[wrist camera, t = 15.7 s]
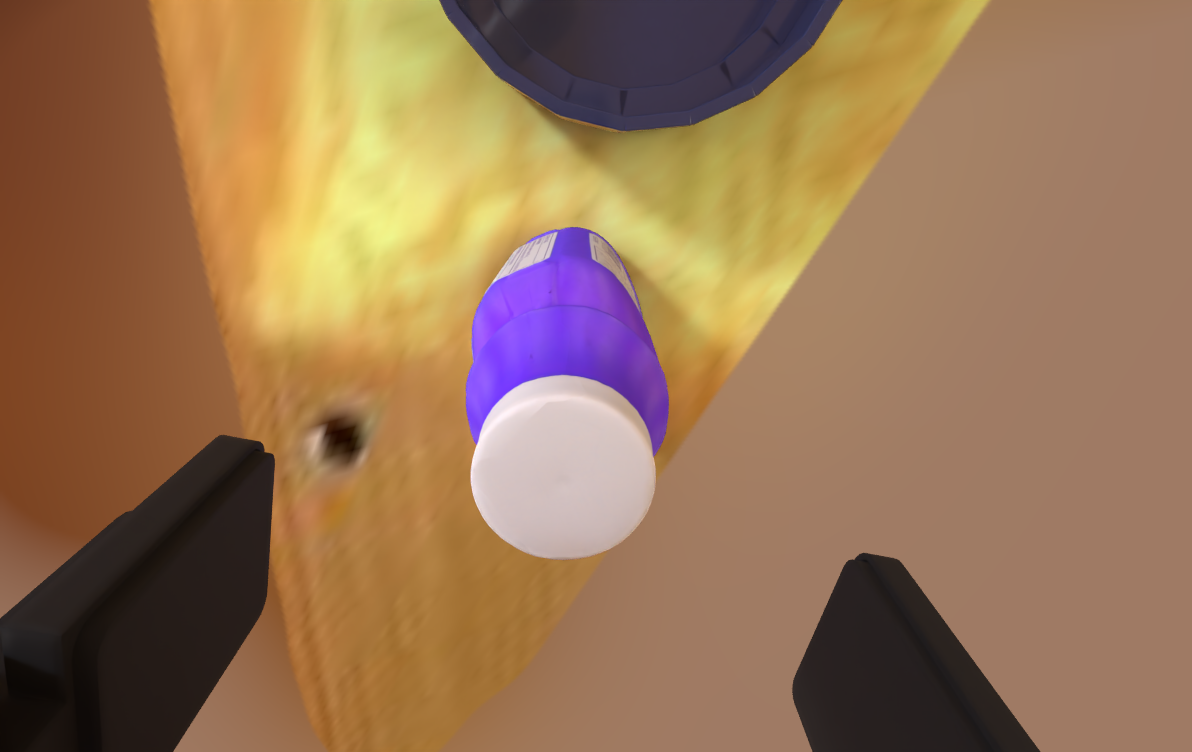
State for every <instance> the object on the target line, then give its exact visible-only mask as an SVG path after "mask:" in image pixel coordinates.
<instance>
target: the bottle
mask: <svg viewBox="0 0 1192 752" xmlns="http://www.w3.org/2000/svg"><path fill="white" fill-rule="evenodd" d="M472 354H473V365H472V367H471V369H470V372H469V375H468V378H467V383H466V409H467V416H468V421H469V425H470V430H471V433H472V436H473V439H474V442H475V443H476V445H477V446H476V449H475V453H474V456H473V460H472V467H471V485H472V492H473V495H474V499H475V502H476V504H477V507H478V509H479V511H480V513H481V515H482V517H483V518H484V520H485V521H486V522H487V524H488V525H489V526H490V527H491V528H492V529H493V530H494V531H495V533H496V534H497V535H499V536H500V537H501V538H502V539H503V540H505V541H506V542H508V543H509V544H511V545H512V546H514V547H516V548H517V549H519V550H521V551H523V552H525V553H528V554H531V555H534V556H537V557H542V558H548V559H556V560H570V559H581V558H585V557H590V556H594V555H596V554H599V553H602V552H604V551H607V550H609V549H610V548H612V547H614V546H616V545H617V544H619V543H620V542H622V541H623V540H624V539H625V538H627V537H628V536H629V535H630V534H631V533H632V532H633V531H634V530H635V529H636V528H637V526H638V525H639V524H640V523H641V521H642V520H643V518H644V516H645V515H646V513H647V511H648V509H649V507H650V504H651V502H652V498H653V495H654V491H655V479H656V471H655V463H654V456H655V454H656V453H657V451H658V449H659V447H660V446H661V444H662V442H663V439H664V436H665V433H666V427H667V420H668V408H669V399H668V391H667V384H666V380H665V375H664V373H663V371H662V368H661V366H660V364H659V361H658V358H657V355H656V352H655V348H654V346H653V343H652V340H651V336H650V334H649V332H648V329H647V327H646V325H645V322H644V320H643V317H642V312H641V308H640V304H639V301H638V298H637V295H636V292H635V289H634V286H633V284H632V281H631V279H630V276H629V274H628V272H627V270H626V268H625V266H624V265H623V263H622V261H621V259H620V257H619V256H618V254H617V253H616V251H615V250H614V249H613V247H612V246H611V245H610V244H609V243H608V242H607V241H606V240H605V239H604V238H603V237H601V236H600V235H598V234H597V233H595V232H593V231H590V230H587V229H583V228H578V227H570V228H565V229H562V230H552V231H549V232H546V233H544V234H541V235H539V236H537V237H534V238H532V239H531V240H530V241H529V242H527V243H526V244H525V245H523V246H521V247H519V248H517V249H516V250H515V251H514V252H513V254H512V255H511V256H510V258H509V259H508V260H507V262H506V263H505V265H504V266H503V268H502V269H501V270H500V272H499V273H498V275H497V276H496V278H495V279H494V281H493V282H492V284H491V285H490V286H489V288H488V289H487V291H486V293H485V295H484V296H483V298H482V300H481V302H480V304H479V306H478V308H477V311H476V314H475V317H474V320H473V327H472Z"/></svg>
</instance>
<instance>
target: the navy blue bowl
mask: <svg viewBox="0 0 1192 752" xmlns="http://www.w3.org/2000/svg"><path fill="white" fill-rule="evenodd" d="M439 1H440V3H441V5H442V7H443V10H444V12H445V14H446V16H448V19H449V20H450V21H451V23H452V24H453V25H454V26H455V27H456V28H457V30H458V31H459V32H460V33H461V34H462V36H463V37H464V38H465V39H466V40H467V42H468V43H469V44H470V45H471V46H472V47H473V49H474V50H475V51H476V52H477V53H478V55H479V56H480V57H481V58H482V59H483V61H484V62H485V63H486V64H487V65H488V66H489V68H490V69H491V70H492V71H493V72H494V74H495V75H496V76H498V77H499V78H500V79H501V80H503V81H504V82H505V83H507V84H508V85H509V86H511V87H512V88H513V89H515V90H517V91H518V92H520V93H521V94H523V95H524V96H526V97H528V98H529V99H531V100H532V101H534V102H535V103H537V104H539V105H540V106H542V107H543V108H545V109H546V110H548V111H550V112H551V113H553V114H554V115H556V116H557V117H559V118H561V119H563V120H567V121H571V122H575V123H579V124H583V125H587V126H591V127H595V128H599V129H603V130H607V131H611V132H615V133H616V132H618V133H621V132H632V131H643V130H653V129H664V128H674V127H683V126H690V125H694V124H696V123H699V122H701V121H703V120H705V119H708V118H710V117H712V116H714V115H717V114H719V113H721V112H723V111H725V110H728V109H730V108H732V107H734V106H737V105H739V104H741V103H743V102H746V101H748V100H750V99H752V98H754V97H755V96H758V95H759V94H760V93H761V92H762V91H763V90H764V89H766V88H767V87H768V86H769V85H770V84H771V83H772V82H773V81H775V80H776V79H777V78H778V77H779V76H780V75H781V74H783V73H784V72H785V71H786V70H787V69H788V68H789V67H790V66H792V65H793V64H794V63H795V62H796V61H797V60H798V59H799V58H801V57H802V56H803V55H804V54H805V53H806V52H807V51H809V50H810V49H811V48H812V46H813V45H814V44H815V43H816V41H817V39H818V38H819V36H820V35H821V33H822V32H823V30H824V28H825V27H826V25H827V24H828V22H829V21H830V19H831V18H832V16H833V14H834V13H835V11H836V10H837V8H838V7H839V5H840V3H841V2H842V0H439Z"/></svg>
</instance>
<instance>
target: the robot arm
mask: <svg viewBox="0 0 1192 752" xmlns="http://www.w3.org/2000/svg"><path fill="white" fill-rule="evenodd" d="M274 468H275V459H274V455H273V454H271V453H266V452H264V446H263V444H262V443H261V442H259V441H253V440H248V439H242V438H237V437H231V436H226V435H220V436H218V437H217V438H215V439H214V440H213V441H212V442H211V443H210V444H208V445H207V446H206V447H205V448H204V449H203V450H201V451H200V452H199V453H198V454H197V455H196V456H195V457H193V458H192V459H191V460H190V461H189V462H188V463H187V464H186V465H184V466H183V467H182V468H181V469H180V470H179V471H177V472H176V473H175V474H174V475H173V476H172V477H170V479H168V480H167V481H166V482H165V483H164V484H162V485H161V486H160V487H159V488H158V489H157V490H156V491H154V492H153V493H152V494H151V495H150V496H149V497H148V498H146V499H145V500H144V501H143V502H142V503H141V504H140V505H138V506H137V507H136V508H135V509H134V510H133V511H129V512H125V513H124V514H122V515H121V516H120V517H118V518H116V519H115V520H114V521H113V522H112V523H111V524H109V525H108V526H107V527H106V528H105V529H104V530H102V531H101V532H100V533H99V534H98V535H97V536H95V537H94V538H93V539H92V540H91V541H90V542H89V543H87V544H86V545H85V546H84V547H83V548H82V549H81V550H79V551H78V552H77V553H76V554H75V555H73V556H72V557H71V558H70V559H69V560H68V561H66V562H65V563H64V564H63V565H62V566H61V567H59V568H58V569H57V570H56V571H55V572H54V573H53V574H51V575H50V576H49V577H48V578H47V579H46V580H44V581H43V582H42V583H41V584H40V585H39V586H37V587H36V588H35V589H34V590H33V591H32V592H30V593H29V594H28V595H27V596H26V597H25V598H24V599H22V600H21V601H20V602H19V603H18V604H17V605H15V606H14V607H13V608H12V609H11V610H9V611H8V612H7V613H6V614H5V615H4V616H2V617H1V618H0V752H173V751H174V749H175V748H176V746H177V745H178V743H179V742H180V740H181V738H182V737H183V735H184V734H185V732H186V731H187V729H188V727H189V726H190V724H191V723H192V721H193V719H194V718H195V717H196V715H197V713H198V712H199V710H200V709H201V707H202V706H203V704H204V703H205V701H206V699H207V698H208V696H209V695H210V693H211V692H212V690H213V689H214V687H215V686H216V684H217V682H218V681H219V679H220V678H221V676H222V675H223V673H224V671H225V670H226V668H227V667H228V665H229V664H230V662H231V661H232V659H233V657H234V656H235V654H236V653H237V651H238V650H239V648H240V647H241V645H242V643H243V642H244V640H245V639H246V637H247V635H248V634H249V633H250V631H251V629H252V628H253V626H254V625H255V623H256V622H257V620H258V618H259V616H260V615H261V612H262V610H263V607H264V604H265V601H266V597H267V586H268V569H269V552H270V536H271V519H272V502H273V485H274ZM792 693H793V699H794V703H795V706H796V708H797V711H798V714H799V717H800V719H801V722H802V725H803V727H804V730H805V733H806V735H807V738H808V741H809V743H810V746H811V749H812V751H813V752H1040V751H1039V749H1038V748H1037V747H1036V745H1035V744H1034V743H1033V741H1032V740H1031V739H1030V737H1029V736H1028V734H1027V733H1026V732H1025V730H1024V729H1023V728H1022V726H1021V725H1020V724H1019V722H1018V721H1017V719H1016V718H1015V717H1014V715H1013V714H1012V713H1011V711H1010V710H1009V709H1008V707H1007V706H1006V705H1005V703H1004V702H1003V700H1002V699H1001V698H1000V696H999V695H998V694H997V692H996V691H995V690H994V688H993V687H992V685H991V684H990V683H989V681H988V680H987V678H986V677H985V676H984V674H983V673H982V672H981V670H980V669H979V668H978V666H977V665H976V664H975V662H974V661H973V659H972V658H971V657H970V655H969V654H968V653H967V651H966V650H965V649H964V647H963V646H962V644H961V643H960V642H959V640H958V639H957V638H956V636H955V635H954V634H953V632H952V631H951V630H950V628H949V627H948V625H947V624H946V623H945V621H944V620H943V619H942V617H941V616H940V615H939V613H938V612H937V610H936V609H935V608H934V606H933V605H932V604H931V602H930V601H929V600H928V598H927V597H926V595H925V594H924V593H923V591H922V590H921V589H920V587H919V586H918V584H917V583H916V582H915V580H914V579H913V578H912V576H911V575H910V574H909V572H908V571H907V570H906V568H905V567H904V565H903V564H902V563H901V562H900V561H899V560H897V559H894V558H889V557H884V556H879V555H873V554H868V553H862V554H859V555H858V556H857V557H856V558H855V560H849V561H848V562H846V564H845V565H844V567H843V569H842V572H841V574H840V576H839V579H838V581H837V583H836V585H835V587H834V590H833V592H832V594H831V596H830V599H829V601H828V603H827V605H826V608H825V610H824V612H823V615H822V616H821V619H820V621H819V623H818V626H817V628H816V630H815V632H814V635H813V637H812V639H811V641H810V643H809V646H808V648H807V650H806V652H805V655H804V657H803V659H802V661H801V664H800V666H799V668H798V670H797V673H796V675H795V678H794V680H793V692H792Z"/></svg>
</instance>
